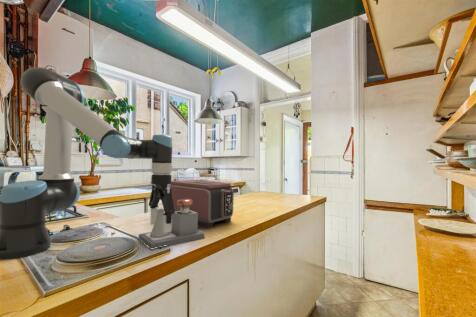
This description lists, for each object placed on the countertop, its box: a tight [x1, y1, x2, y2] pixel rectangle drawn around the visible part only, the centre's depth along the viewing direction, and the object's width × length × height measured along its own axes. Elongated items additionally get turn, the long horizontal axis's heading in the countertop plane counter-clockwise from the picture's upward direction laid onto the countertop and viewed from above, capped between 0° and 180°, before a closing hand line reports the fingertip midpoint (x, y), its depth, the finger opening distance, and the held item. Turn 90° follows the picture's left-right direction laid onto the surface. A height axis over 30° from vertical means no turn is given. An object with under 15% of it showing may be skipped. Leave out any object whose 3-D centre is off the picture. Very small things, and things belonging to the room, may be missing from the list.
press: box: [138, 210, 205, 249], centre depth 97 cm, size 22×14×10 cm, turn 130°
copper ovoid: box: [177, 199, 193, 214], centre depth 101 cm, size 6×6×8 cm
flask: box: [150, 208, 170, 237], centre depth 94 cm, size 7×7×10 cm
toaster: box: [168, 179, 235, 229], centre depth 127 cm, size 19×36×21 cm, turn 53°
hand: (160, 227), depth 94 cm, fingers open, 13 cm apart
